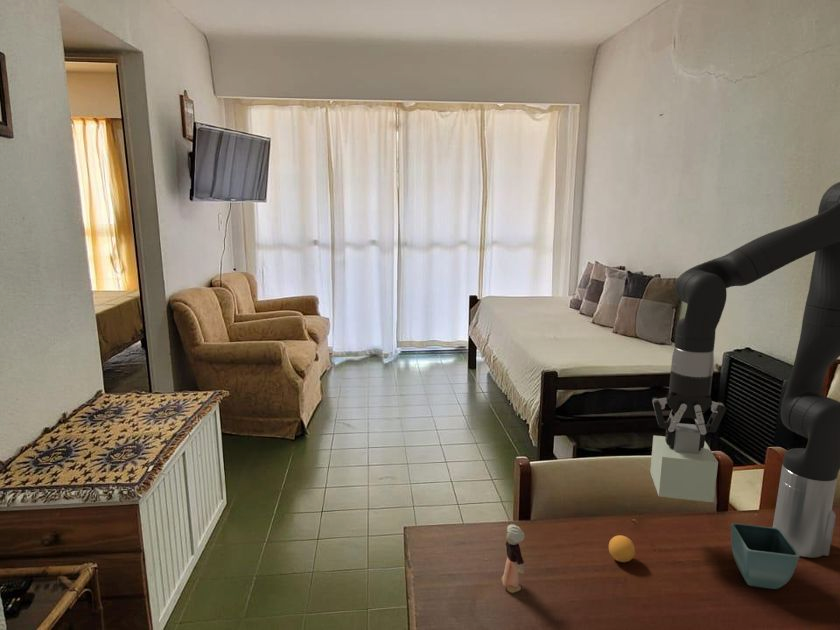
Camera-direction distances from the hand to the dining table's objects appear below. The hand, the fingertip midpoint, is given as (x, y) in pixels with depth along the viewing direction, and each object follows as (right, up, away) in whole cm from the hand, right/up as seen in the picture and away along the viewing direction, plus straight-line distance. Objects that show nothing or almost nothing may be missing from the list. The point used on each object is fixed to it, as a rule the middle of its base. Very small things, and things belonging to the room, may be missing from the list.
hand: (683, 447), depth 111 cm
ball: (-14, -20, -3) cm, 24 cm away
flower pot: (+10, -24, -8) cm, 27 cm away
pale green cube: (0, -9, +2) cm, 9 cm away
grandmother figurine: (-38, -24, -10) cm, 46 cm away
